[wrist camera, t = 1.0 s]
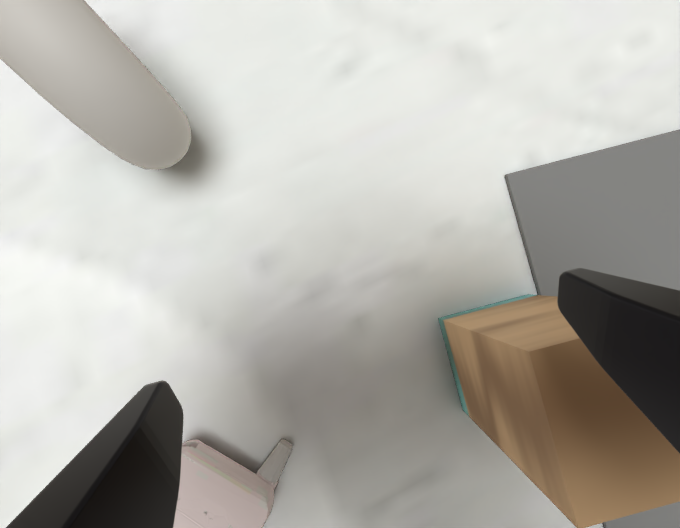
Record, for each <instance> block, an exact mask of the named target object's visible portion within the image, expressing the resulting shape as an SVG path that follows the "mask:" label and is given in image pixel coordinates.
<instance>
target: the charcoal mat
mask: <svg viewBox="0 0 680 528" xmlns="http://www.w3.org/2000/svg"><path fill="white" fill-rule="evenodd" d="M505 179H506V183H507V186H508V190H509V193H510V197H511V200H512V204H513V207H514V211H515V214H516V218H517V221H518V225H519V229H520V232H521V236H522V239H523V243H524V246H525V250H526V253H527V257H528V260H529V264H530V267H531V271H532V275H533V278H534V282H535V285H536V289H537V292H538V295H543V296H557V297H558V284H559V276H560V274H561V273H562V272H564V271H567V270H571V269H575V268H585V269H589V270H593V271H598V272H602V273H606V274H611V275H615V276H619V277H624V278H628V279H632V280H637V281H641V282H646V283H650V284H654V285H659V286H663V287H667V288H672V289H676V290H680V130H676V131H672V132H668V133H665V134H661V135H657V136H653V137H649V138H645V139H641V140H638V141H634V142H630V143H626V144H622V145H618V146H614V147H610V148H607V149H603V150H599V151H595V152H591V153H587V154H583V155H580V156H576V157H572V158H568V159H564V160H560V161H556V162H553V163H549V164H545V165H541V166H537V167H533V168H529V169H525V170H522V171H518V172H514V173H510V174H507V175H505ZM603 526H604V528H680V502H676V503H672V504H669V505H665V506H661V507H658V508H654V509H650V510H647V511H643V512H640V513H636V514H632V515H629V516H625V517H621V518H618V519H614V520H610V521H607V522H603Z"/></svg>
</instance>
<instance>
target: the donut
mask: <svg viewBox="0 0 680 528" xmlns="http://www.w3.org/2000/svg"><path fill="white" fill-rule="evenodd" d="M0 59H1V60H2V61H3V62H4V63H5V64H7V65H8V66H9V67H10V68H11V69H12V70H13V71H14V72H15V73H16V74H17V75H19V76H20V77H21V78H22V79H23V80H24V81H25V82H26V83H27V84H28V85H30V86H31V87H32V88H33V89H34V90H35V91H36V92H37V93H38V94H39V95H40V96H42V97H43V98H44V99H45V100H46V101H48V102H49V103H50V104H51V105H52V106H53V107H55V108H56V109H57V110H58V111H59V112H61V113H62V114H63V115H64V116H65V117H66V118H68V119H69V120H70V121H71V122H72V123H74V124H75V125H76V126H78V127H79V128H80V129H81V130H83V131H84V132H85V133H87V134H88V135H89V136H90V137H92V138H93V139H94V140H96V141H97V142H98V143H99V144H101V145H102V146H104V147H105V148H106V149H108V150H109V151H111V152H112V153H114V154H115V155H117V156H118V157H120V158H121V159H123V160H125V161H127V162H129V163H131V164H133V165H136V166H138V167H141V168H144V169H151V170H160V169H164V168H168V167H171V166H173V165H174V164H176V163H177V162H179V161H180V160H181V159H182V158H183V157H184V155H185V154H186V153H187V151H188V149H189V146H190V143H191V128H190V125H189V122H188V119H187V116H186V115H185V113H184V112H183V111H182V109H181V108H180V106H179V105H178V104H177V103H176V101H175V100H174V99H173V98H172V97H171V95H170V94H169V93H168V92H167V91H166V90H165V89H164V87H163V86H162V85H161V84H160V83H159V82H158V81H157V79H156V78H155V77H154V76H153V75H152V74H151V73H150V72H149V71H148V69H147V68H146V67H145V66H144V65H143V64H142V63H141V62H140V60H139V59H138V58H137V57H136V56H135V55H134V54H133V53H132V52H131V51H130V49H129V48H128V47H127V46H126V45H125V44H124V43H123V42H122V41H121V40H120V39H119V37H118V36H117V35H116V34H115V33H114V32H113V31H112V30H111V29H110V28H109V27H108V26H107V24H106V23H105V22H104V21H103V20H102V19H101V18H100V17H99V16H98V15H97V14H96V13H95V12H94V10H93V9H92V8H91V7H90V6H89V5H88V4H87V3H86V2H85V1H84V0H0Z"/></svg>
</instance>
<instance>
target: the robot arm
mask: <svg viewBox="0 0 680 528" xmlns="http://www.w3.org/2000/svg"><path fill="white" fill-rule="evenodd" d="M557 303H558V308H559V310H560V312H561V313H562V315H563V316H564V318H565V319H566V320H567V322H568V323H569V324H570V326H571V327H572V328H573V330H574V331H575V333H576V334H577V335H578V337H579V338H580V339H581V341H582V342H583V343H584V345H585V346H586V347H587V349H588V350H589V352H590V353H591V354H592V356H593V357H594V358H595V360H596V361H597V362H598V363H599V365H600V366H601V367H602V368H603V369H604V371H605V372H606V373H607V374H608V375H609V376H610V377H611V378H612V380H613V381H614V382H615V383H616V384H617V385H618V386H619V387H620V388H621V389H622V391H623V392H624V393H625V394H626V395H627V396H628V397H629V398H630V399H631V401H632V402H633V403H634V404H635V405H636V406H637V407H638V408H639V409H640V410H641V412H642V413H643V414H644V415H645V416H646V417H647V418H648V419H649V420H650V421H651V423H652V424H653V425H654V426H655V427H656V428H657V429H658V430H659V431H660V433H661V434H662V435H663V436H664V437H665V438H666V439H667V440H668V441H669V442H670V444H671V445H672V446H673V447H674V448H675V449H676V450H677V451H678V452H679V453H680V290H676V289H672V288H667V287H663V286H659V285H654V284H650V283H646V282H641V281H637V280H632V279H628V278H624V277H619V276H615V275H611V274H606V273H602V272H598V271H593V270H589V269H585V268H575V269H571V270H567V271H564V272H562V273H561V274H560V276H559V284H558V298H557ZM182 434H183V410H182V407H181V404H180V403H179V401H178V399H177V398H176V396H175V394H174V392H173V391H172V389H171V387H170V386H169V384H168V383H167V382H166V381H158V382H155V383H151V384H148V385H145V386H144V387H143V388H142V389H141V390H140V391H139V392H138V393H137V394H136V395H135V396H134V397H133V398H132V399H131V400H130V401H129V402H128V403H127V404H126V405H125V406H124V407H123V408H122V409H121V410H120V411H119V412H118V413H117V414H116V415H115V416H114V418H113V419H112V420H111V421H110V422H109V423H108V424H107V425H106V426H105V427H104V428H103V429H102V430H101V431H100V432H99V433H98V434H97V435H96V436H95V437H94V438H93V439H92V440H91V441H90V442H89V443H88V444H87V445H86V446H85V447H84V448H83V449H82V450H81V451H80V452H79V453H78V454H77V455H76V456H75V457H74V458H73V459H72V461H71V462H70V463H69V464H68V465H67V466H66V467H65V468H64V469H63V470H62V471H61V472H60V473H59V474H58V475H57V476H56V477H55V478H54V479H53V480H52V481H51V482H50V483H49V484H48V485H47V486H46V487H45V488H44V489H43V490H42V491H41V492H40V493H39V494H38V495H37V496H36V497H35V498H34V499H33V500H32V501H31V502H30V504H29V505H28V506H27V507H26V508H25V509H24V510H23V511H22V512H21V513H20V514H19V515H18V516H17V517H16V518H15V519H14V520H13V521H12V522H11V523H10V524H9V525H8V526H7V527H6V528H173V525H174V519H175V513H176V506H177V500H178V493H179V486H180V474H181V454H182Z"/></svg>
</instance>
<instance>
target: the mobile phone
mask: <svg viewBox="0 0 680 528" xmlns="http://www.w3.org/2000/svg"><path fill="white" fill-rule="evenodd" d="M292 448H293V445H292V444H291V443H290V442H288V441H287V440H284V439H281V440H280V442H279V443H278V444H277V446H276V447H275V448H274V450H273V451H272V452H271V454H270V455H269V456H268V458H267V459H266V460H265V462H264V463H263V465H262V466H261V467H260V468H259V469H258V471H257V473H256V474H255V473H254V472H252V471H250V470H249V469H247V468H245V467H244V466H242V465H240V464H238V463H237V462H235V461H233V460H232V459H230V458H228V457H227V456H225V455H223V454H221V453H220V452H218V451H216V450H215V449H213V448H211V447H210V446H208V445H206V444H204V443H203V442H201V441H199V440H198V439H196V440H189V441H186V442H184V443H183V444H182V454H181V474H180V486H179V493H178V500H177V506H176V513H175V519H174V525H173V528H262V527H263V526H264V524H265V522H266V520H267V518H268V516H269V515H270V512H271V510H272V507H273V501H274V489H275V487H276V486H277V484H278V479H279V477H280V475H281V473H282V471H283V469H284V466H285V464H286V462H287V460H288V457H289V455H290V453H291V451H292Z"/></svg>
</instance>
